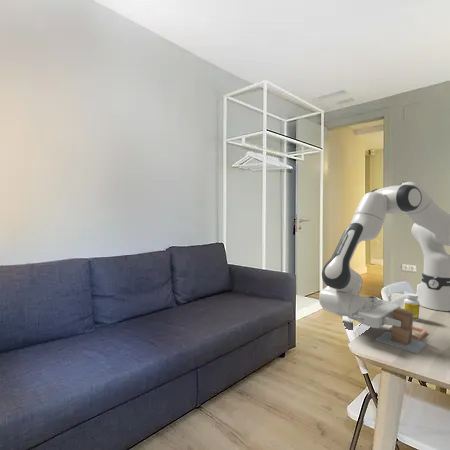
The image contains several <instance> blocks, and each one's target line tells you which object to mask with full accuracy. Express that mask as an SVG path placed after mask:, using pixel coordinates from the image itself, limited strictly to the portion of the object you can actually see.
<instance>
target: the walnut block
mask: <svg viewBox="0 0 450 450" xmlns="http://www.w3.org/2000/svg"><path fill="white" fill-rule="evenodd" d="M413 312H414V311H410V310H406V309H403V307H401V308H397V309H395V310H393V319H398V320H401V321H402V325H401V326H400V327H398V326H393V325H391V327H392V339H391V341H394V342H397V343H400V344H403V345H408V344H409V343H410V342H411V341H412V339H413V338H412V326H414V325H413V323H414V321H413Z"/></svg>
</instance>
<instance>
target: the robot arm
mask: <svg viewBox="0 0 450 450" xmlns="http://www.w3.org/2000/svg"><path fill="white" fill-rule="evenodd" d="M397 213H406V215H408V217H409V218H410V219H411V221H412V222H413V225H412V226H411V230H410V231H411V235H412V238H414V239H415V240H416V241H417V243H418V244H419V245H420V248H421V252H422V254H423V269H422V271H423V272H422V274H421V282H420V283H418V284H417V287H416V293H415V294H416V295H418V299H417V300H418V301H419V303H420V305H419V307H423V308H427V309H431V310H436V311H441V312H450V254H449V253H448V252H447V251H446V249H445V246H447V247H449V246H450V213H449V212H447V211H445V210H444V209H443V208H441V207H440V206H439V204H437V202H436V201H434V199H433V197H431V196H430V195H429V193H428V192H427V191H426V190H425V189H424V188H423V187H422V186H420V185H419V184H417V183H416V182H413V181H407V182H403V183H401V184H400V185H389V186H386V187H382V188H381V187H380V188H375V189H373V190H370V191H369V192H367V193H365V194H363V195H362V197H361V199H360V201H359V202H358V204H357V206H356V209H355V211H354V214H353V216H352V219H351V221H350V222H349V223H350V224H348V225H347V227H346V228H345V230H344V231H343V233H342V235H341V237H340V239H339V240H338V243H337V245H336V247H335V250H334V252H333V254H332V256H331V257H330V259H329V260H327V262H326V263H325V265H324V266H323V267H322V269H321V270H322V271H321V277H322V281H323V283H324V284H325V285H326V287H324V288H323V289H321V290H320V292H319V295H318V300H319V304H320V306H321V307H322V309H323V310H324V311H327V312H329V313H332V314H334V315H337V316H339V317H340V316H341V317H347V318H349V319H351V320H353V321H357V322H358V323H360V324H362V325H364V326H367V327H370V328H373V329H380V328H382V327H383V326H392V325H393V326H398V327H400V326H401V325H402V321H401V320H398V319H393V310H395V309H397V308H402V307H401V305H399V304H397V303H395V302H391V301H388V300H384V299H379V298H378V297H377V296H372V295H371V296H364V295H360V292H361V289H362V287H363V278H362V276H361V274H359V273H358V272H357V271H355V270H354V269H352V268H351V260H352V259H353V256H354V254H355V251H356V250H357V247H358V245H359V244H360V243H361V242H364V241H365V242H366V241H367V242H368V241H371V240H374V239H376V238H377V237H378V236H379V234H380V232H381V230H382V228H383V225H384V222H385V219H386V215H387V214H397Z"/></svg>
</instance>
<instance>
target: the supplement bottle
mask: <svg viewBox="0 0 450 450" xmlns="http://www.w3.org/2000/svg"><path fill="white" fill-rule="evenodd" d="M405 297H406V298H404V299H403V306H402V309H406V310H410V311H414V312H413V322H416V321H419V317H420V316H419V315H420V303H419V301H418V300H417V299H418V295H416V293H412V292H409V293H406V294H405Z"/></svg>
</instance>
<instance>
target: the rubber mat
mask: <svg viewBox="0 0 450 450" xmlns="http://www.w3.org/2000/svg"><path fill="white" fill-rule="evenodd" d="M391 339H392V332H390V331H389V330H388V331H386V332H384V333H383V334H381V335H379V337H376V339H375V340H376V341H377V342H380V343H383V344H386V345H388V346H392V347H395V348H398V349H400V350H404V351H407V352H410V353H412V354H415V355H418V354H419V353H420V352H421V351H422V350H423V349H424V348H425V347H426V346H427V345H428V343H427V342H425V341H421V340H420V339H419V340H416V339H413V338H412V341H411V342H410V343H409V344H408V345H403V344H400V343H397V342H394V341H391Z"/></svg>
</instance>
